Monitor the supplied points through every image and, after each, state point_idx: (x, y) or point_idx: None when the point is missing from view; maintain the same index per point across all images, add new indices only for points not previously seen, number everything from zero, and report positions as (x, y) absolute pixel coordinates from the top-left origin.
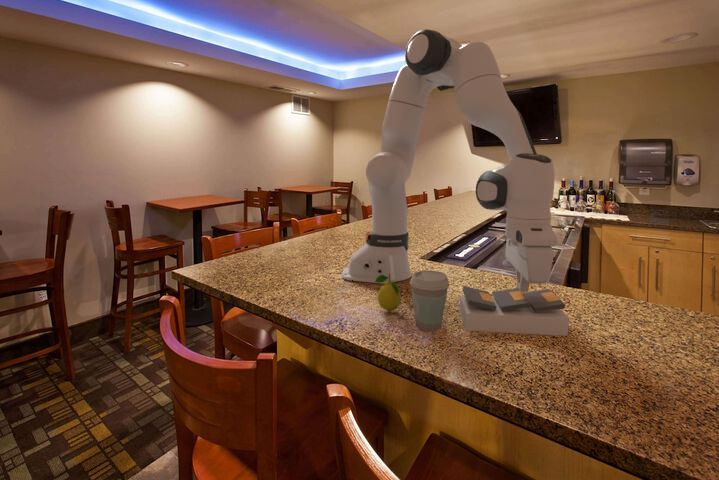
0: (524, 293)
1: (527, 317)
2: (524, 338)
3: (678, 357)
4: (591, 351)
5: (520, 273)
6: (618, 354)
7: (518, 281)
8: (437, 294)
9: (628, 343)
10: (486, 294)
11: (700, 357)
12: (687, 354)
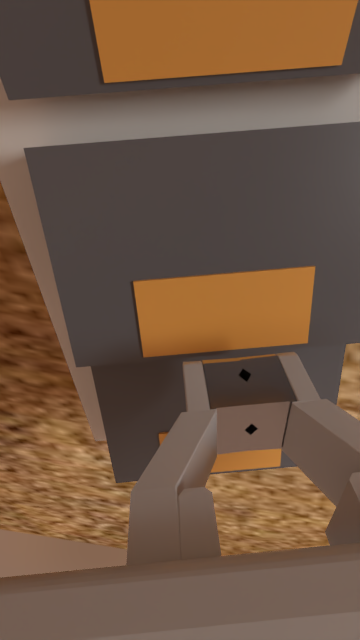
0: (331, 351)
1: (48, 301)
2: (13, 240)
3: (69, 517)
4: (14, 412)
5: (36, 588)
6: (28, 453)
7: (270, 404)
8: None
9: (107, 477)
10: (319, 17)
11: (84, 535)
12: (90, 527)
